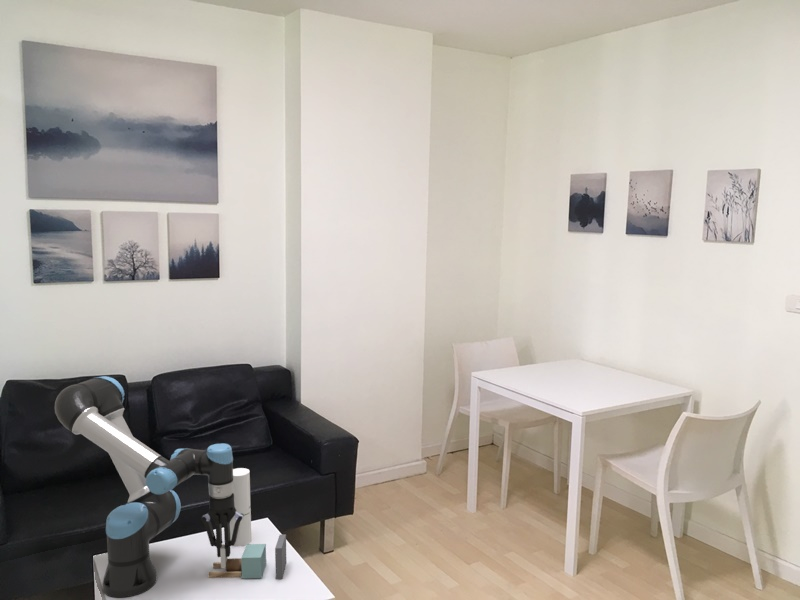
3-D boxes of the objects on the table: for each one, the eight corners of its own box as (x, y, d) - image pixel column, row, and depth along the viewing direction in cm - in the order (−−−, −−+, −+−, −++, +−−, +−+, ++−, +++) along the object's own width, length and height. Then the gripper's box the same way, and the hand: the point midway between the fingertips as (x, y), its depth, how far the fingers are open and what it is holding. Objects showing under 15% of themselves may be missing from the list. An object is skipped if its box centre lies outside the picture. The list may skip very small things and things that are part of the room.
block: (241, 578, 200) (241, 557, 199) (247, 563, 208) (246, 544, 207) (261, 577, 200) (260, 557, 199) (266, 563, 208) (265, 543, 208)
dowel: (225, 574, 202) (225, 561, 202) (228, 569, 206) (228, 556, 206) (251, 573, 202) (251, 560, 202) (253, 569, 206) (253, 556, 206)
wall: (275, 579, 200) (275, 548, 199) (280, 563, 209) (279, 534, 208) (282, 578, 200) (281, 548, 199) (286, 563, 209) (285, 534, 208)
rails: (208, 577, 200) (208, 573, 200) (213, 566, 207) (213, 562, 207) (240, 577, 201) (240, 572, 201) (245, 566, 207) (245, 562, 207)
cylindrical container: (254, 536, 227) (252, 468, 224) (247, 546, 220) (245, 476, 217) (234, 535, 228) (232, 467, 225) (227, 545, 220) (224, 475, 218)
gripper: (197, 499, 197) (200, 572, 199) (239, 498, 197) (242, 571, 200) (203, 489, 204) (206, 560, 207) (245, 489, 205) (247, 559, 207)
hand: (224, 565), depth 203 cm, fingers closed
